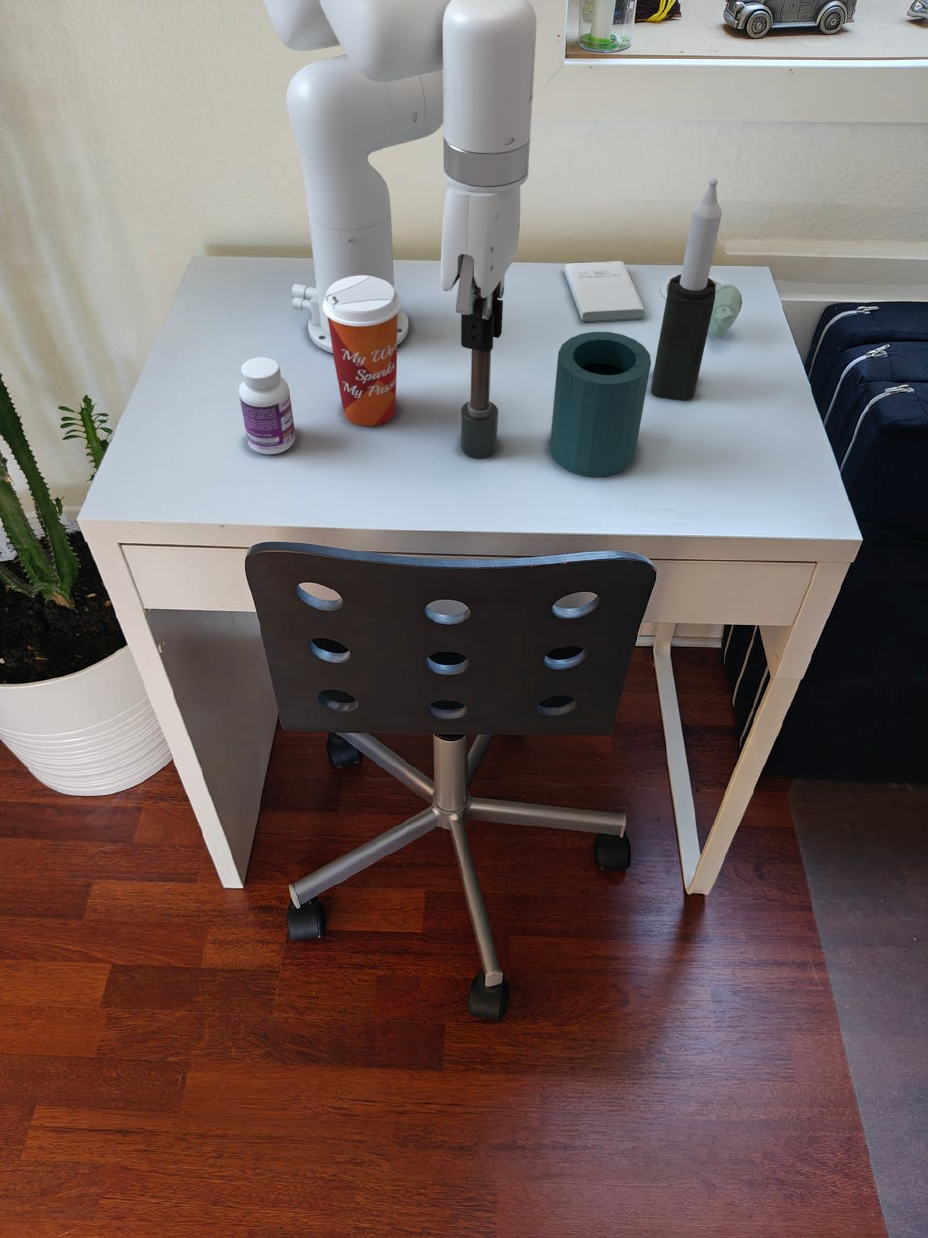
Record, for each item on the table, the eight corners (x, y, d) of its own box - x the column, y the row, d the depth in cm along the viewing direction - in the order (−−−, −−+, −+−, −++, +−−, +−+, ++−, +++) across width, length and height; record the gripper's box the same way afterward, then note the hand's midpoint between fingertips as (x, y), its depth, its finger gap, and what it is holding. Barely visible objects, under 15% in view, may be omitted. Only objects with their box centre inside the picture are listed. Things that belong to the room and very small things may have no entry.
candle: (693, 401, 117) (739, 191, 99) (649, 396, 118) (687, 186, 99) (695, 376, 121) (740, 169, 102) (653, 371, 121) (689, 164, 103)
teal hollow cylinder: (539, 465, 109) (547, 372, 100) (563, 416, 115) (572, 324, 106) (623, 485, 107) (639, 391, 98) (643, 434, 113) (659, 341, 104)
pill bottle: (297, 454, 110) (286, 380, 103) (248, 458, 109) (234, 384, 102) (295, 424, 114) (284, 350, 106) (248, 428, 113) (234, 354, 106)
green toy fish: (695, 317, 129) (705, 269, 124) (726, 317, 130) (737, 269, 124) (707, 352, 124) (718, 303, 119) (739, 352, 124) (752, 303, 119)
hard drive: (581, 323, 128) (564, 273, 137) (643, 319, 129) (622, 270, 137) (582, 311, 127) (565, 262, 135) (645, 308, 128) (624, 259, 136)
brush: (455, 453, 110) (456, 297, 96) (467, 432, 113) (470, 277, 99) (489, 462, 109) (495, 305, 95) (501, 440, 112) (508, 285, 98)
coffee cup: (350, 440, 112) (339, 321, 101) (323, 401, 117) (309, 283, 105) (418, 419, 114) (414, 301, 103) (388, 382, 119) (382, 265, 108)
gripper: (475, 116, 93) (472, 295, 107) (412, 189, 83) (418, 376, 97) (552, 128, 92) (539, 308, 105) (498, 204, 82) (491, 392, 95)
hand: (481, 339), depth 101 cm, fingers closed on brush, 2 cm apart
